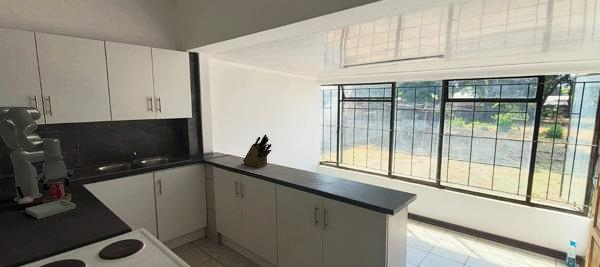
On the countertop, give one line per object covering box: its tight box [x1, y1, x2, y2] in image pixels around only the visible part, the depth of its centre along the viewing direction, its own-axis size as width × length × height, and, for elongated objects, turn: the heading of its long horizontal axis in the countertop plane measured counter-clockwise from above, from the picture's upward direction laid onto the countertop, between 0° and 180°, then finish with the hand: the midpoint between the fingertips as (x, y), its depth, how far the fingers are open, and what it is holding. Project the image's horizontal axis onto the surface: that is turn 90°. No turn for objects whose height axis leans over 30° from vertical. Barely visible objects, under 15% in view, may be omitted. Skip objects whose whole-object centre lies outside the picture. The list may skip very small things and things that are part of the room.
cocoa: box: [15, 186, 35, 210], centre depth 150 cm, size 10×6×12 cm, turn 56°
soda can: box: [47, 180, 66, 200], centre depth 160 cm, size 7×7×12 cm
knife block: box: [242, 134, 272, 168], centre depth 256 cm, size 11×35×31 cm, turn 43°
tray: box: [25, 200, 77, 220], centre depth 146 cm, size 16×16×2 cm
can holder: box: [41, 193, 72, 205], centre depth 160 cm, size 12×12×3 cm
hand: (56, 187), depth 159 cm, fingers open, 9 cm apart
